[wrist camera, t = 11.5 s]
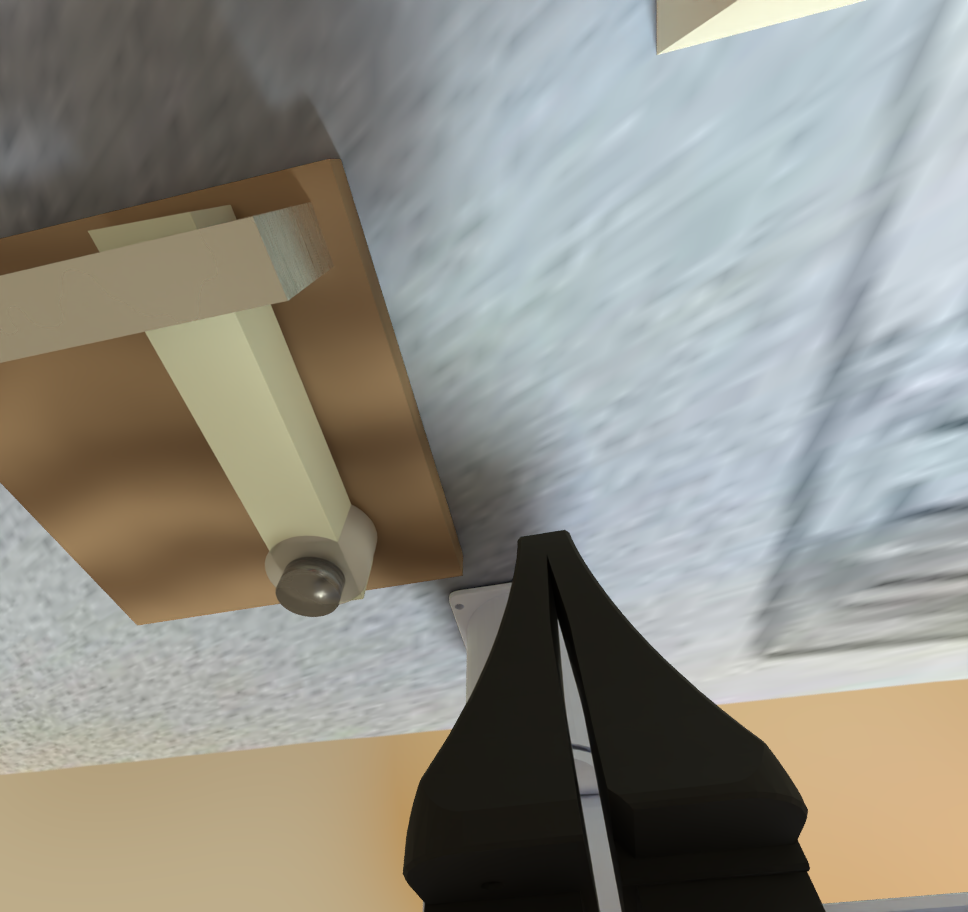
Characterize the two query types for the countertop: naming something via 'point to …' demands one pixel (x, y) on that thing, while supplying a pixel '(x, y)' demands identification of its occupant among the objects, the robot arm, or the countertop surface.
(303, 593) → the cylinder
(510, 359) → the countertop surface
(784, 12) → the milk
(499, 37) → the countertop surface
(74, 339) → the bar
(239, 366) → the bar
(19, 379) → the base board
